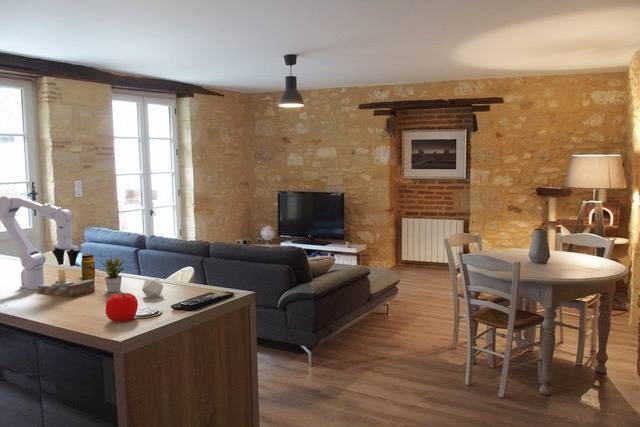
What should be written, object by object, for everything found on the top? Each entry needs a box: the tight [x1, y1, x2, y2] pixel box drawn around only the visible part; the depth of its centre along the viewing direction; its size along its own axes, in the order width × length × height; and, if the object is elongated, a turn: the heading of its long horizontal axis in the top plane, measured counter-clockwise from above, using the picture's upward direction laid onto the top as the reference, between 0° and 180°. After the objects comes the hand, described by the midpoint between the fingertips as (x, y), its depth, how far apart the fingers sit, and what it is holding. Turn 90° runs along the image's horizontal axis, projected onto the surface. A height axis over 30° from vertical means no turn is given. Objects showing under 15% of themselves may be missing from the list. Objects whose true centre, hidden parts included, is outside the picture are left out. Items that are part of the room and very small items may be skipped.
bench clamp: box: [36, 279, 96, 298], centre depth 235 cm, size 22×12×5 cm, turn 65°
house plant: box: [97, 254, 129, 293], centre depth 234 cm, size 14×14×16 cm
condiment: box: [76, 253, 98, 282], centre depth 260 cm, size 7×8×12 cm
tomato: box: [105, 292, 139, 323], centre depth 193 cm, size 12×12×10 cm
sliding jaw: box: [51, 269, 74, 288], centre depth 236 cm, size 5×7×8 cm
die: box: [141, 277, 164, 299], centre depth 226 cm, size 8×9×10 cm
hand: (66, 265), depth 242 cm, fingers open, 7 cm apart
